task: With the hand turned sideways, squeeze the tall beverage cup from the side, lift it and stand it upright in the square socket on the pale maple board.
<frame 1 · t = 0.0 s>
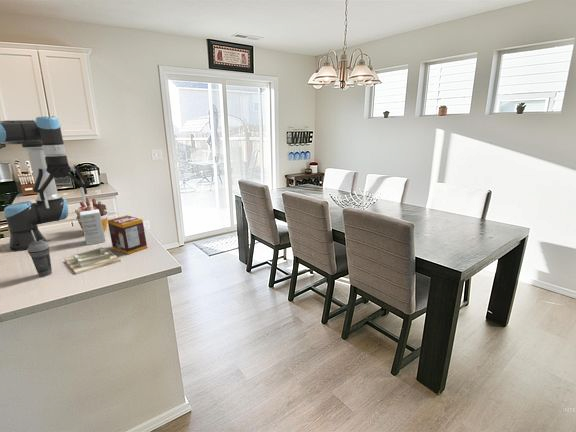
hand: (66, 204, 136), 28 cm above the countertop, tool pointing down, fingers open, 13 cm apart
supplement box 2: (95, 241, 172), on the countertop
supplement box: (130, 248, 161), on the countertop
beverage cup: (45, 274, 133), on the countertop
bucket of meat: (95, 231, 189), on the countertop
cup holder: (92, 261, 146), on the countertop
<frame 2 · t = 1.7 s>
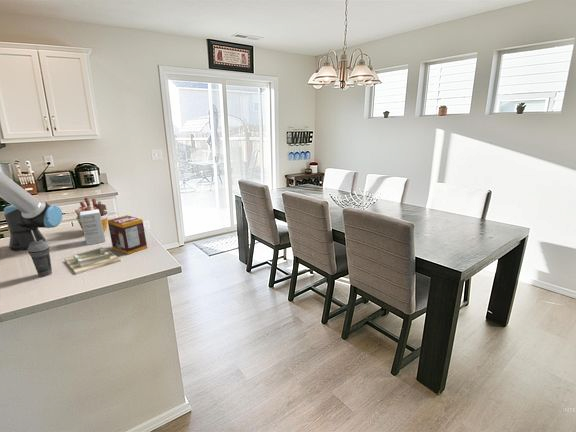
nothing on the countertop moved.
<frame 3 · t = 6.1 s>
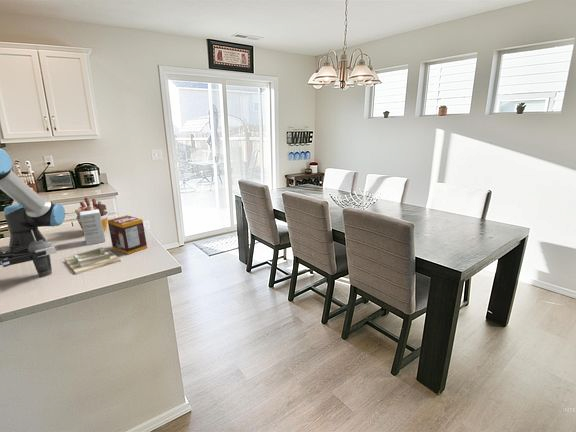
hand: (53, 247, 134), 11 cm above the countertop, tool horizontal, fingers closed on beverage cup, 7 cm apart
beverage cup: (45, 274, 133), on the countertop, touching gripper
everything else where it was.
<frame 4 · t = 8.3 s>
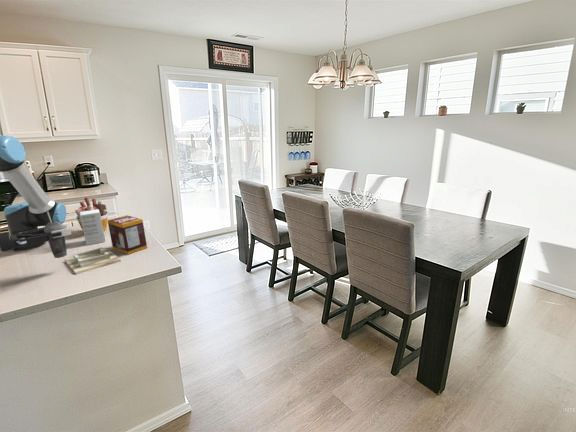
hand: (68, 229, 135), 18 cm above the countertop, tool horizontal, fingers closed on beverage cup, 7 cm apart
beverage cup: (60, 256, 135), point 7 cm above the countertop, touching gripper
everything else where it was.
when the fingers open (13 cm above the countertop, at t = 10.5 s): beverage cup drops 1 cm, resting on cup holder.
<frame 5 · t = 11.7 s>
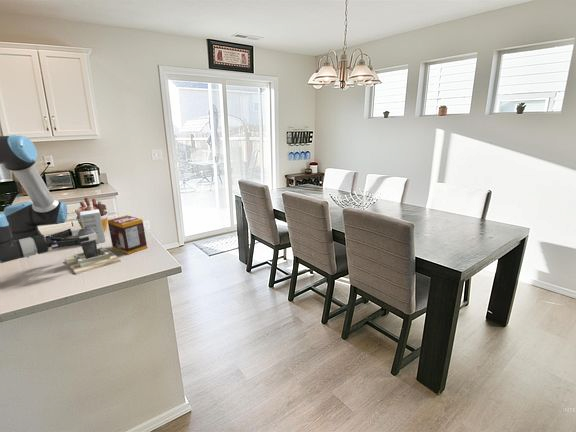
hand: (92, 232, 143), 14 cm above the countertop, tool horizontal, fingers open, 13 cm apart
beverage cup: (92, 259, 145), point 1 cm above the countertop, touching cup holder
everything else where it was.
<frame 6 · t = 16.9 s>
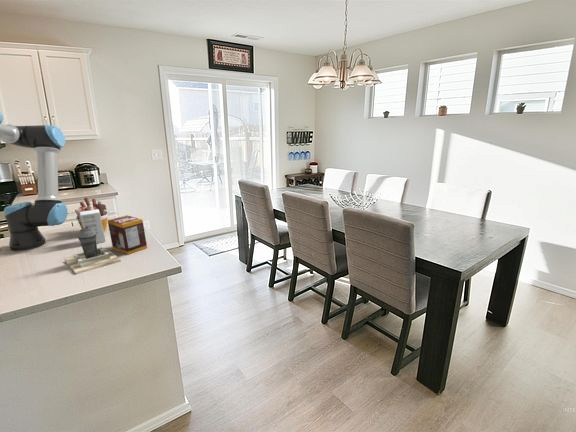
nothing on the countertop moved.
at the end: beverage cup 0.1 cm off-centre on the cup holder, point 0.8 cm above the cup holder's base; beverage cup tilted 0°; the gripper is holding nothing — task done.
